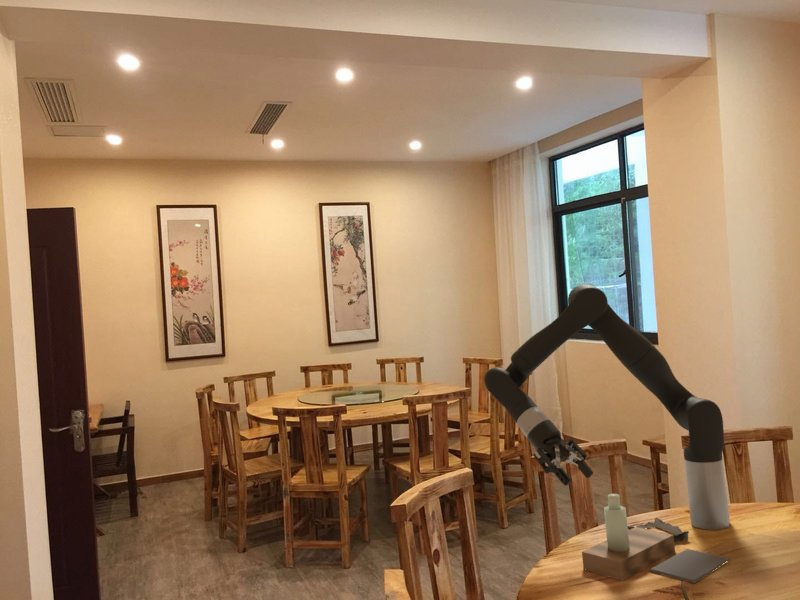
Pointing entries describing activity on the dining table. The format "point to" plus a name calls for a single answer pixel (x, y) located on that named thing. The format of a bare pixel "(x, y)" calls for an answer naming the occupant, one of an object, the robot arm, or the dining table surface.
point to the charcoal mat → (689, 565)
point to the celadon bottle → (616, 525)
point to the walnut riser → (629, 554)
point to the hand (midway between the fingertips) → (579, 479)
